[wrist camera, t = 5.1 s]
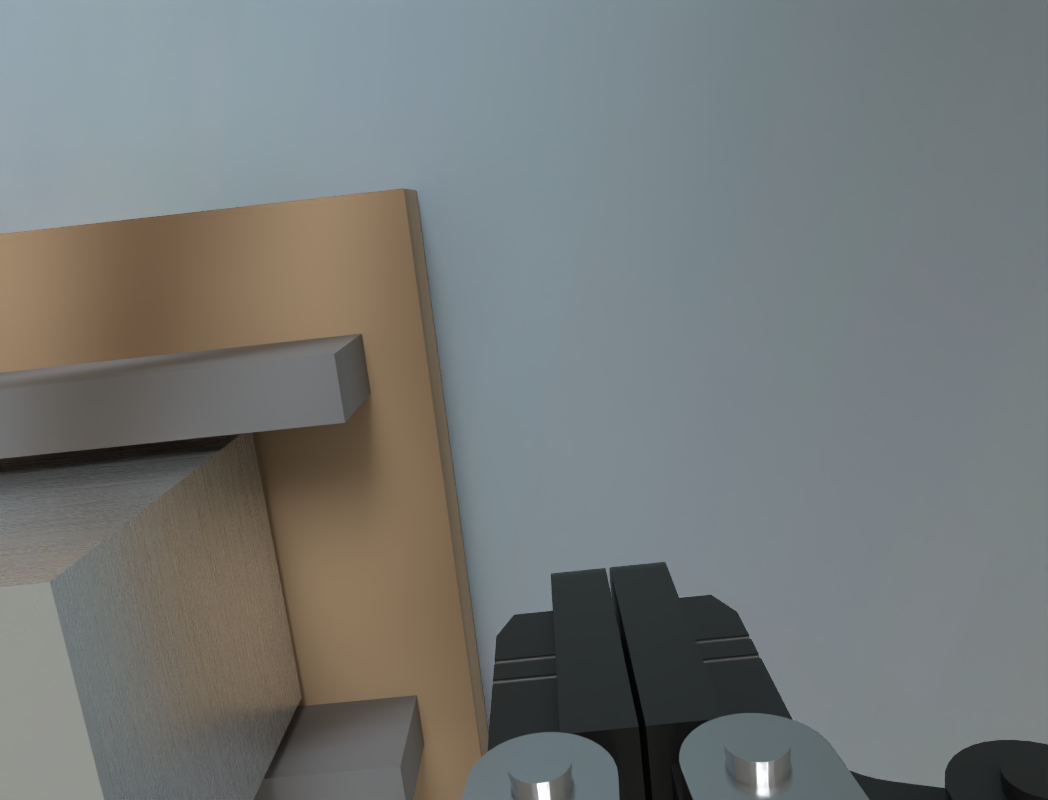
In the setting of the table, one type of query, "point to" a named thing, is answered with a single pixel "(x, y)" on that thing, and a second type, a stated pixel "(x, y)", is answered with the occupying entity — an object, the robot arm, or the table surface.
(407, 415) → the gauge track
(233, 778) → the gauge slider
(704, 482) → the table surface
